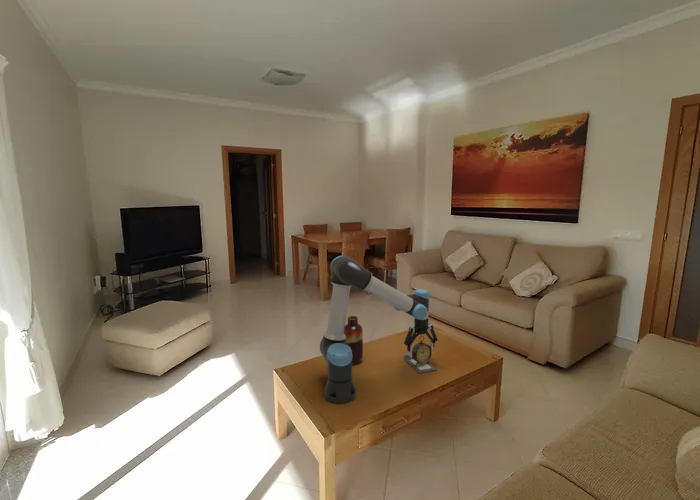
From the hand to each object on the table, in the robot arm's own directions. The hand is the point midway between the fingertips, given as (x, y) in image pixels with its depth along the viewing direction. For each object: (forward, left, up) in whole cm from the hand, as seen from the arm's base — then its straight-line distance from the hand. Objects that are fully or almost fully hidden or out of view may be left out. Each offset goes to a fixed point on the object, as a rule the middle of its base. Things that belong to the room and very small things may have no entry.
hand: (420, 354), depth 187 cm
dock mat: (0, 0, -6) cm, 6 cm away
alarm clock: (0, 0, -5) cm, 5 cm away
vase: (-34, +17, -6) cm, 39 cm away
